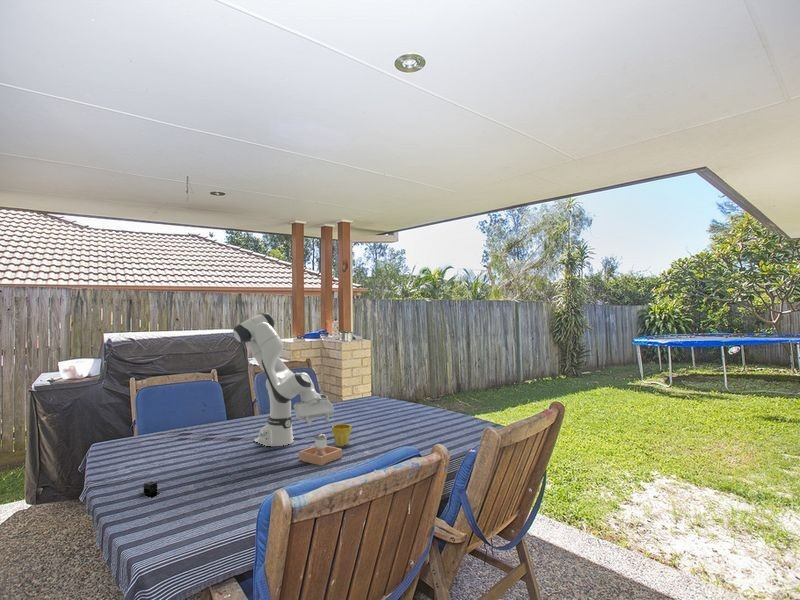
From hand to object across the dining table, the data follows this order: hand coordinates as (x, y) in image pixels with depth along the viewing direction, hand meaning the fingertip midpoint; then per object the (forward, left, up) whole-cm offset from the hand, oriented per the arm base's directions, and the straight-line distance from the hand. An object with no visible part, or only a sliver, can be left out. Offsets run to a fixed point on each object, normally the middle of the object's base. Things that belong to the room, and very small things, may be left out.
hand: (319, 423), depth 220 cm
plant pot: (-2, +19, -16) cm, 25 cm away
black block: (-22, -72, -16) cm, 76 cm away
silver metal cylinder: (+5, -4, -14) cm, 16 cm away
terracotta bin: (+5, -4, -15) cm, 17 cm away
